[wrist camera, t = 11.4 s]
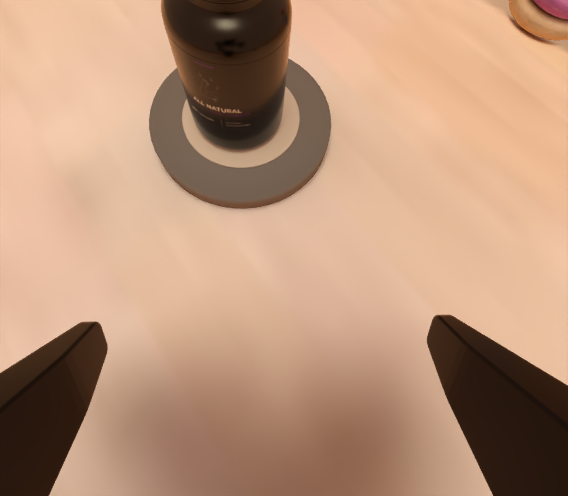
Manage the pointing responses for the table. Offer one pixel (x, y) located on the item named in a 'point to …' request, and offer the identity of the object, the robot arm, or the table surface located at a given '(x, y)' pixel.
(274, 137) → the hub pad
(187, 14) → the supplement bottle
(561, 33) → the stacking toy
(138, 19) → the table surface
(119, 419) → the table surface
